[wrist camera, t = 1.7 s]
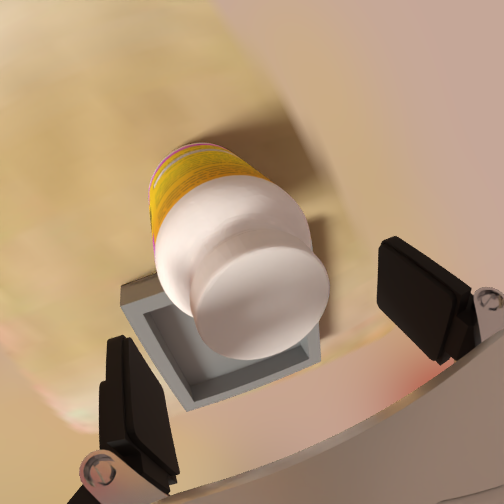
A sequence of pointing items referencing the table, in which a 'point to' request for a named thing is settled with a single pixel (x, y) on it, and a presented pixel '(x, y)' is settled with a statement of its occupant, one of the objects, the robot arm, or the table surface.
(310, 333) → the tray
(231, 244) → the supplement bottle
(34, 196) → the table surface
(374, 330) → the table surface
